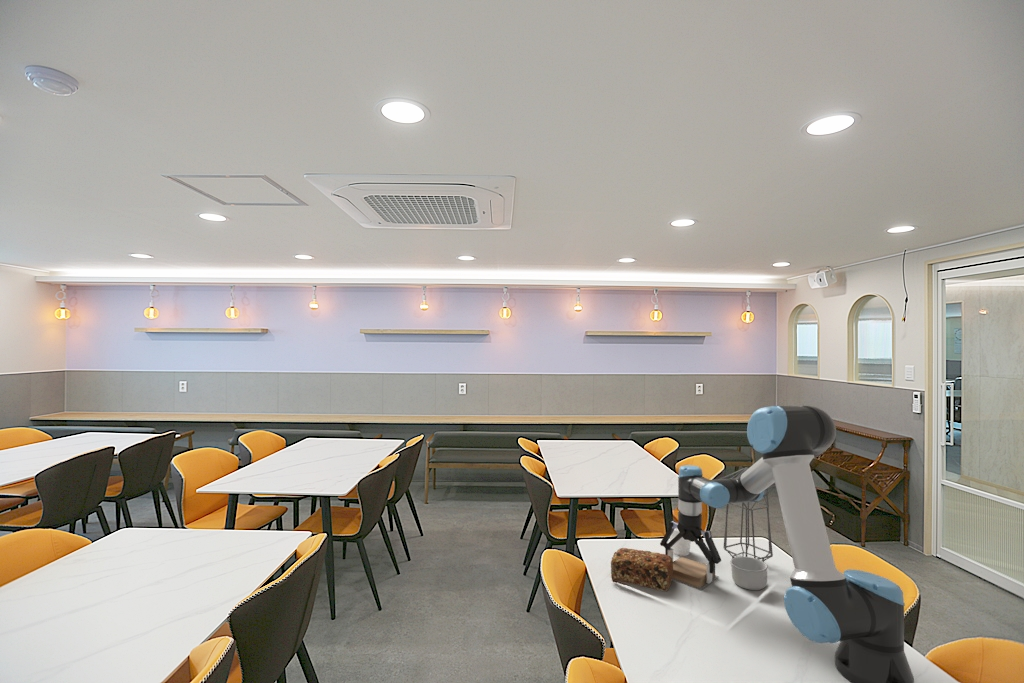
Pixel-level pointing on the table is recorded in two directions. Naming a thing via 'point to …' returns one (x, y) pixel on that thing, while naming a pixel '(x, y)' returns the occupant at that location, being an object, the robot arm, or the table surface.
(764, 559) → the geometric lantern
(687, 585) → the mat
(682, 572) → the wooden block
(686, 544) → the white cup
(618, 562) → the bread
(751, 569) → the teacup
